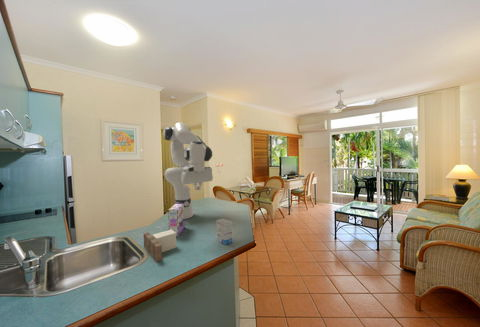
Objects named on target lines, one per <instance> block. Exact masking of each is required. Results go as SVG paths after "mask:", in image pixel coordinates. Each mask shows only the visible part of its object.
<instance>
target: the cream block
mask: <svg viewBox="0 0 480 327" xmlns="http://www.w3.org/2000/svg"><path fill="white" fill-rule="evenodd" d="M152 236H153V237H154V238H155V239H156V240H157V241H158V242H159V243H160V244H161V246H162V253H165V252H167V251H170V250H172V249H176V248H177V236H176V232H174V231H173V230H172V229H171V230H169V229H168V230H165V231H161V232H157V233H154V234H152Z"/></svg>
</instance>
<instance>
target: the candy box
mask: <svg viewBox="0 0 480 327" xmlns="http://www.w3.org/2000/svg"><path fill="white" fill-rule="evenodd" d="M174 204H175V203H174ZM174 204H173V205H174ZM173 205H172V206H173ZM172 206H171V207H170V208H168V210H167V211H168V213H167V214H168V230H171V229H172V230H173V231H174V232H176V237H179V236H180V235H181V234H182V232H183V230H184V228H185V219H184V204H175V205H174V206H173V207H172Z"/></svg>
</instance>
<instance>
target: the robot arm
mask: <svg viewBox="0 0 480 327" xmlns="http://www.w3.org/2000/svg"><path fill="white" fill-rule="evenodd" d="M162 136H163V139H164V140H165V141H169V142H170V141H171V142H170V155H171V161H172V163H173V164H174V165H176V167H175V166H173V167H169V168H166V170H165V171H164V179H165V180H166V181H167V182H169V184H171V185H172V187H173V190H174V194H175V198H174V204H173V205H171V207H173V206H174V205H175V204H184V220H185V219H190V218H192V217H193V216H194V215H195V212H194V208H193V204H192V199H191V188H190V187H189V186H188V185H190V184H193V187H194V190H195V191H199V190H201V189H202V188H201V187H202V185H203V183H206V182H212V181H213V169H212V167H211V166H206V165H205V164H206V162H209V161H210V160H211V159H212V157H213V151H212V149H211V147H209V146H208V145H207V144H206V143H205V142H204V141H203V140H202V139H201V137H200V136H198V135H197V134H196V133H194V132H192V130H191V129H190V128H189V127H188V125H186V123H185V122H182V121H178V122H176V123H175V124H174V126H172V127H171V126H166V127H164V129H163V131H162ZM184 144H185V145H188V146H186V147H185V146H184ZM177 166H178V167H177ZM197 185H198V186H197Z"/></svg>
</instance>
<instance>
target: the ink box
mask: <svg viewBox="0 0 480 327" xmlns="http://www.w3.org/2000/svg"><path fill="white" fill-rule="evenodd" d="M216 241H217V242H219V243H221V244H224V245H225V246H227V245H229V244H231V243H233V221H231V220H228V219H226V218H219V219H217V220H216Z"/></svg>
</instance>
